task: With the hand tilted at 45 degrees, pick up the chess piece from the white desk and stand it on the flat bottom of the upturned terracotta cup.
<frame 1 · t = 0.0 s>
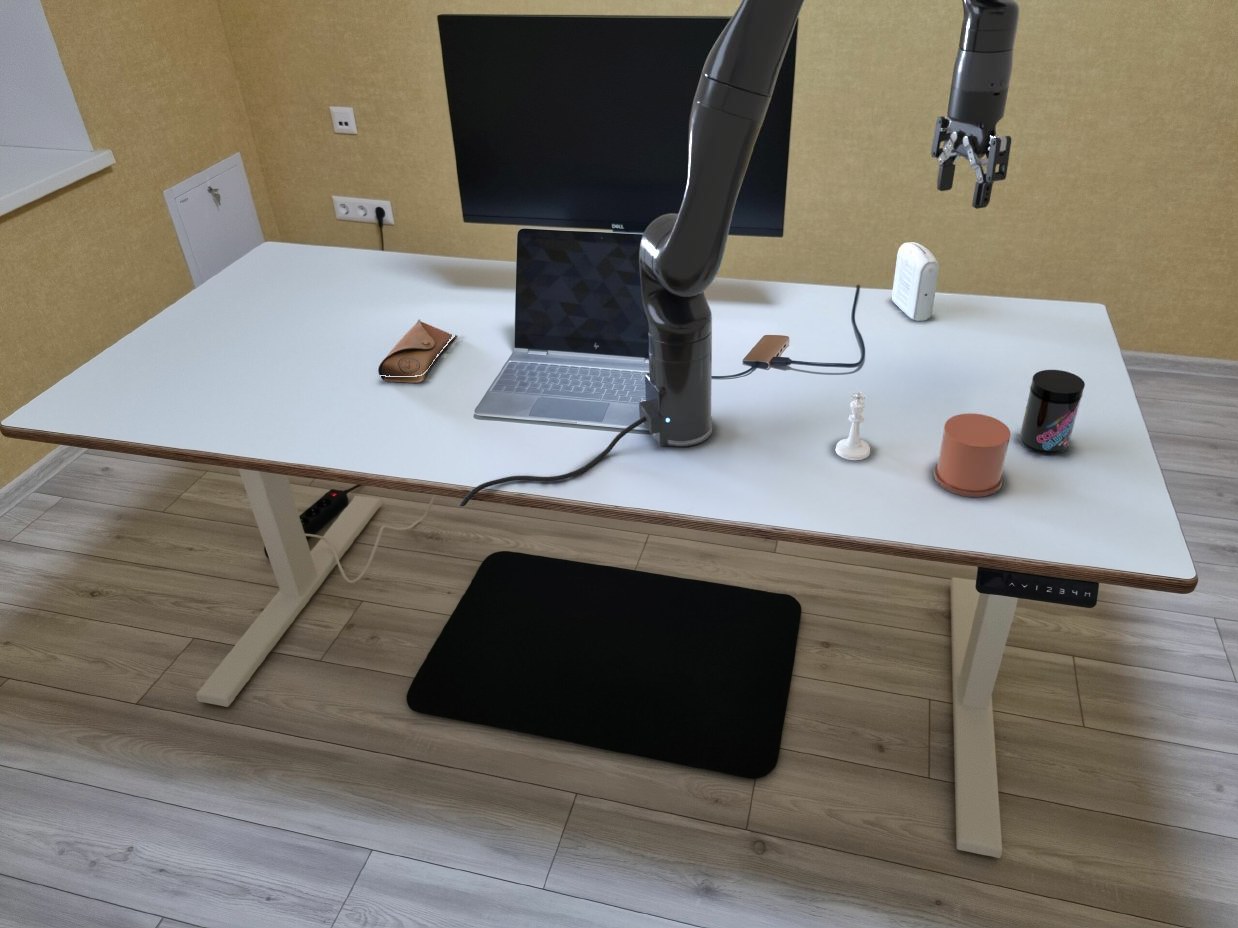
hand: (961, 198, 137), 29 cm above the table, tool pointing down, fingers open, 8 cm apart
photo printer: (910, 310, 173), on the table
supplement container: (1042, 444, 135), on the table
chess piece: (852, 452, 136), on the table
upturned cup: (967, 477, 129), on the table
sunglasses case: (421, 359, 167), on the table
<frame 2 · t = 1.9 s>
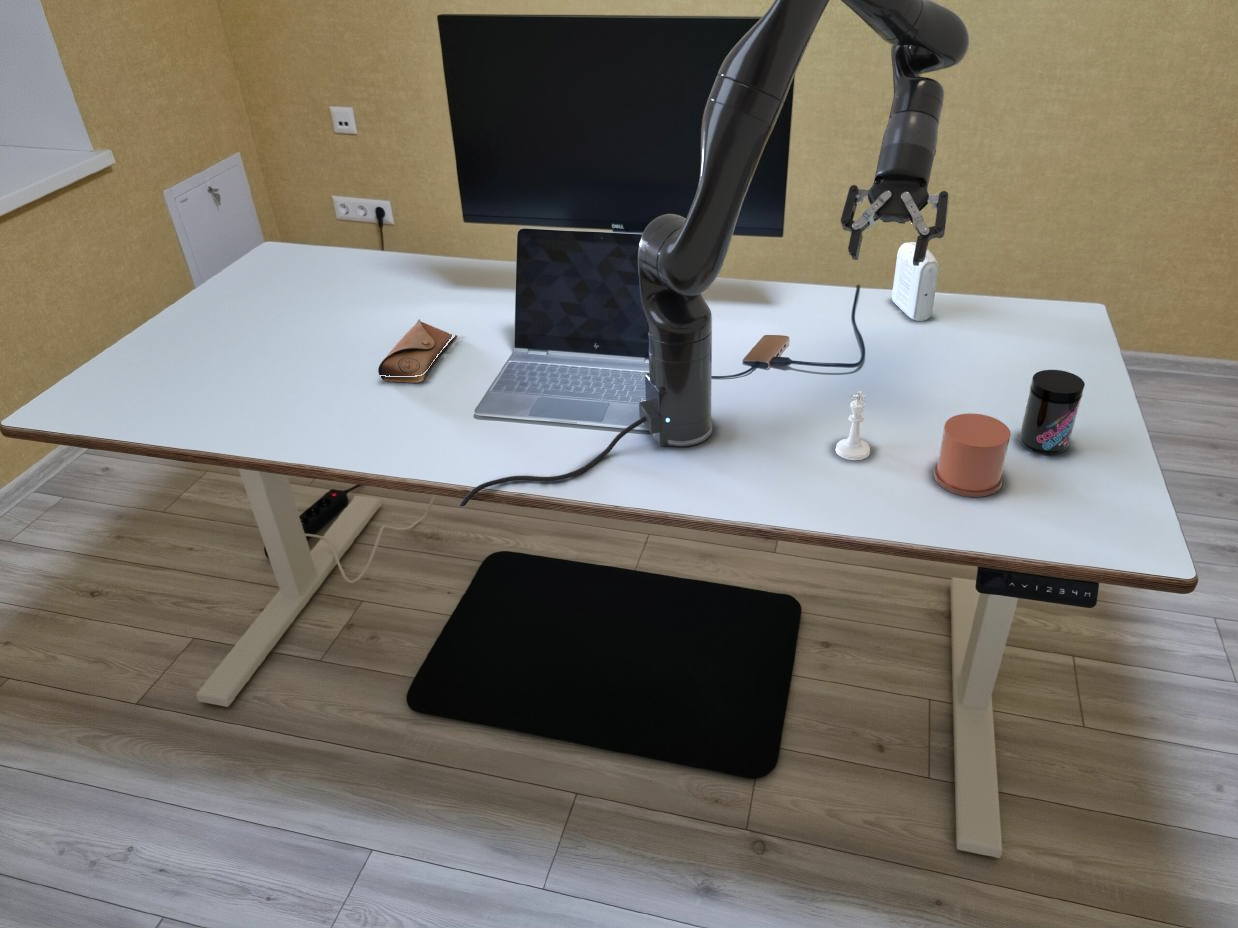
hand: (884, 261, 131), 25 cm above the table, tool tilted 40°, fingers open, 8 cm apart
nothing on the table moved.
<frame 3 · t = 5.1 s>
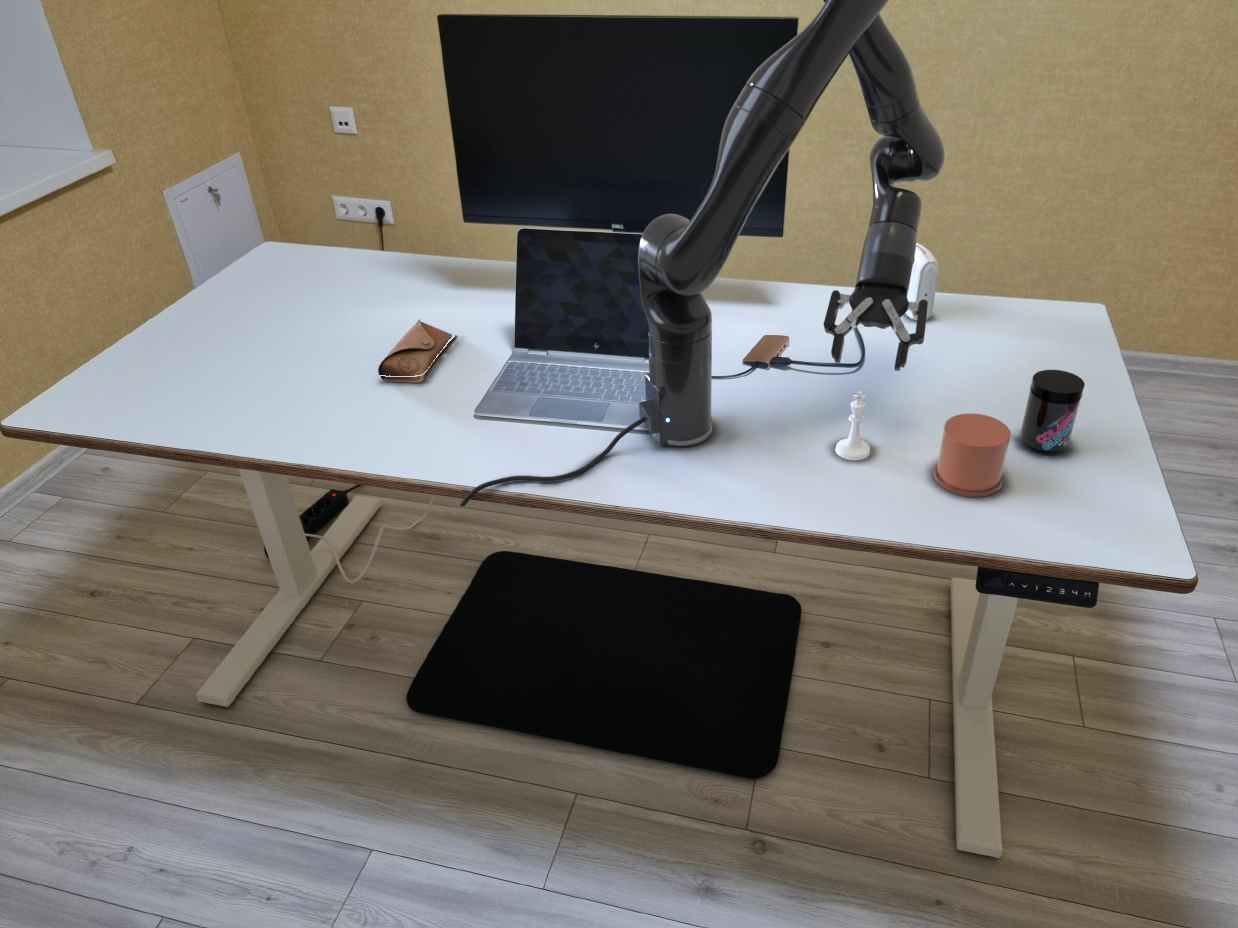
hand: (866, 365, 134), 11 cm above the table, tool tilted 45°, fingers open, 8 cm apart
nothing on the table moved.
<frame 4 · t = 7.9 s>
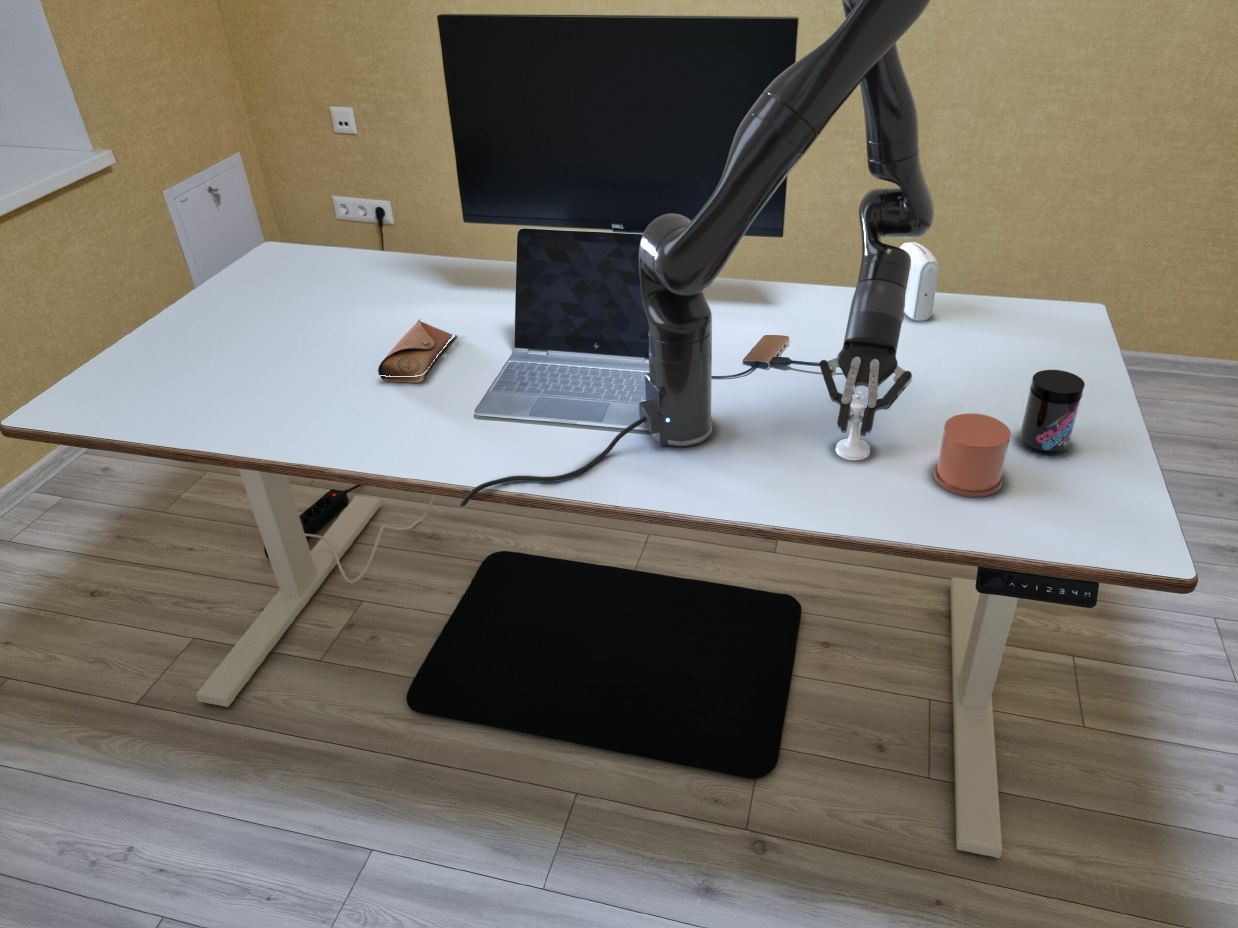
hand: (853, 433, 132), 4 cm above the table, tool tilted 45°, fingers closed on chess piece
chess piece: (852, 452, 136), on the table, touching gripper
everything else where it was.
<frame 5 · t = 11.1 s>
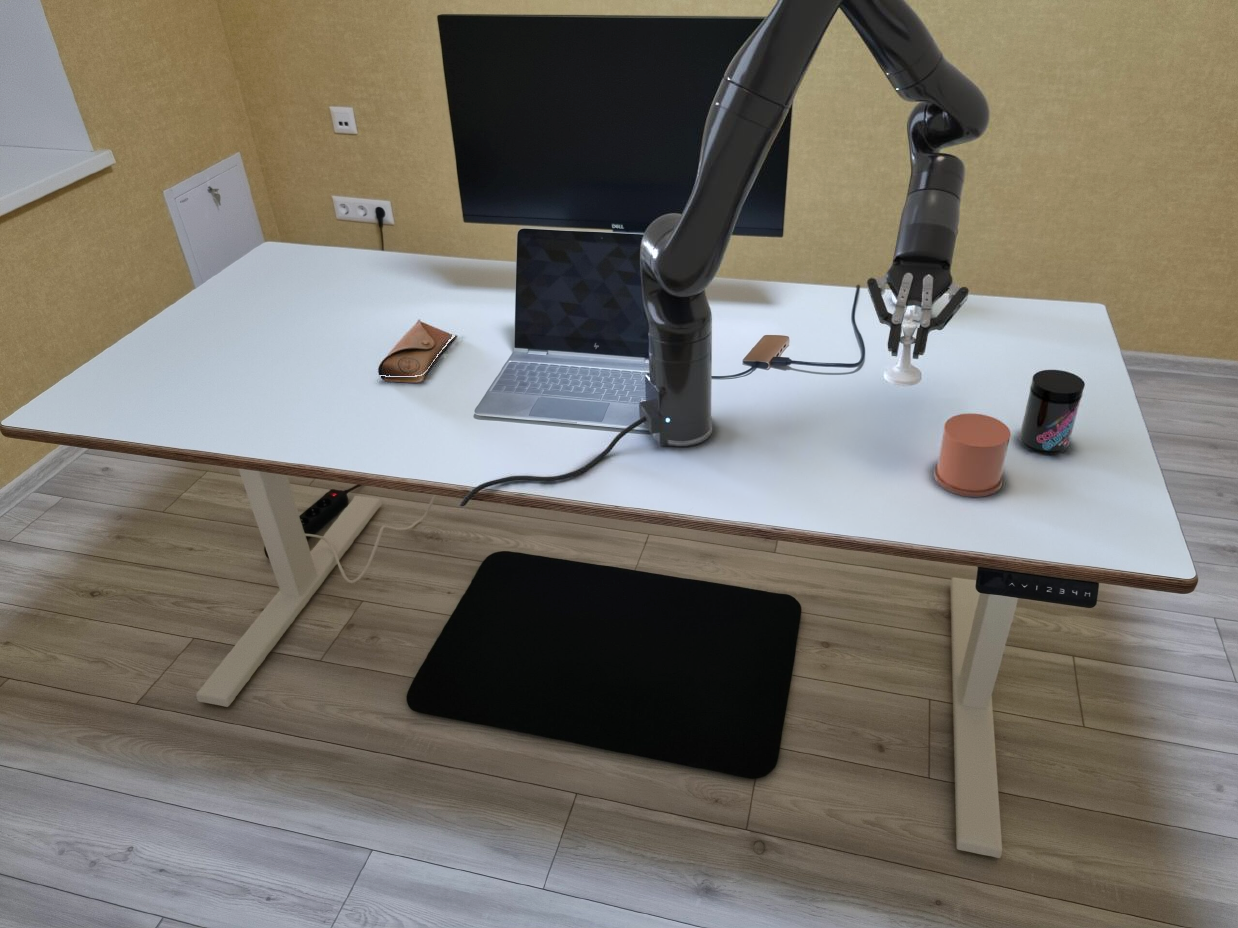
hand: (905, 355, 122), 18 cm above the table, tool tilted 45°, fingers closed on chess piece
chess piece: (902, 378, 126), point 13 cm above the table, touching gripper
everything else where it was.
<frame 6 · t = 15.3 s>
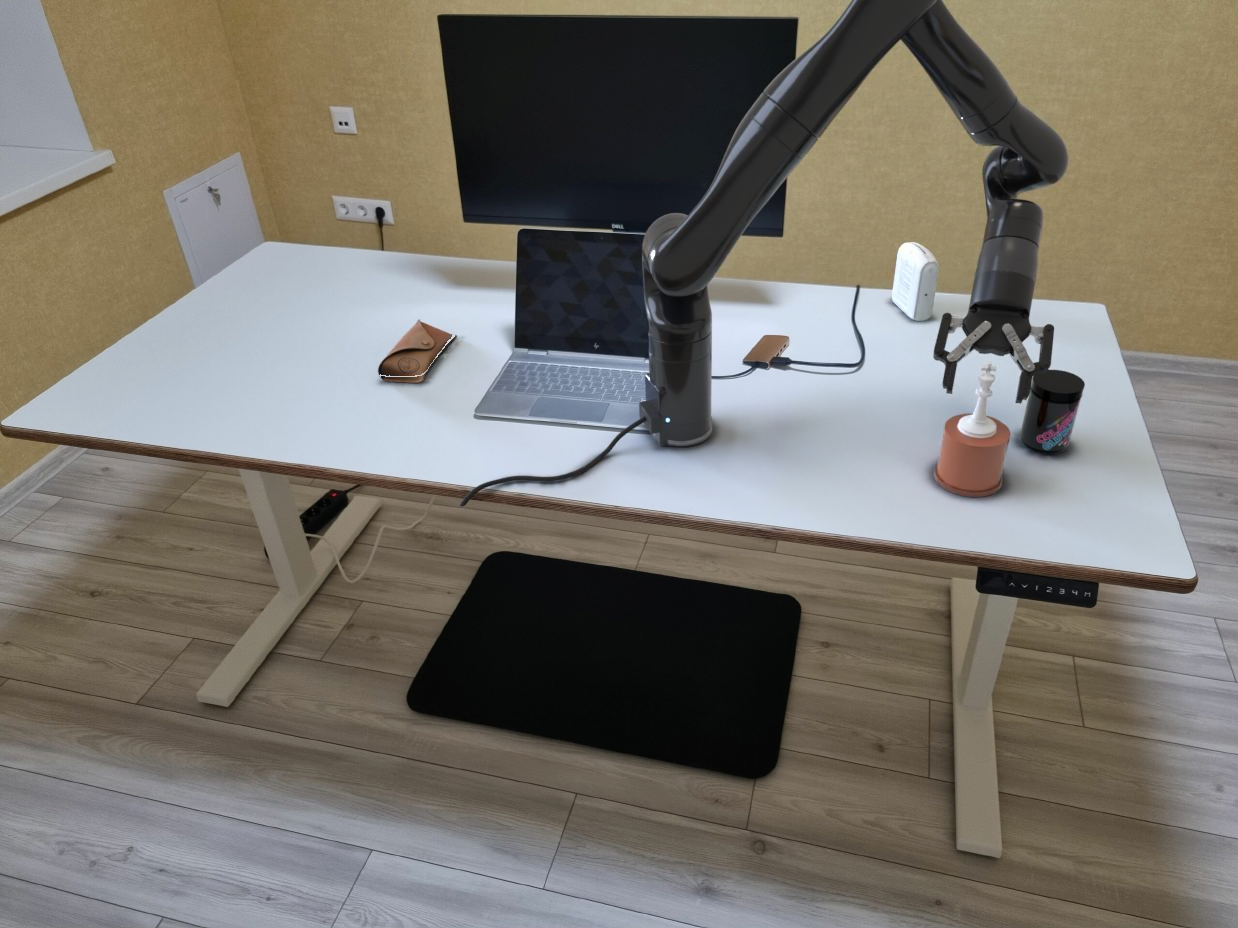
hand: (983, 397, 120), 14 cm above the table, tool tilted 45°, fingers open, 8 cm apart
chess piece: (976, 429, 124), point 8 cm above the table, touching upturned cup
everything else where it was.
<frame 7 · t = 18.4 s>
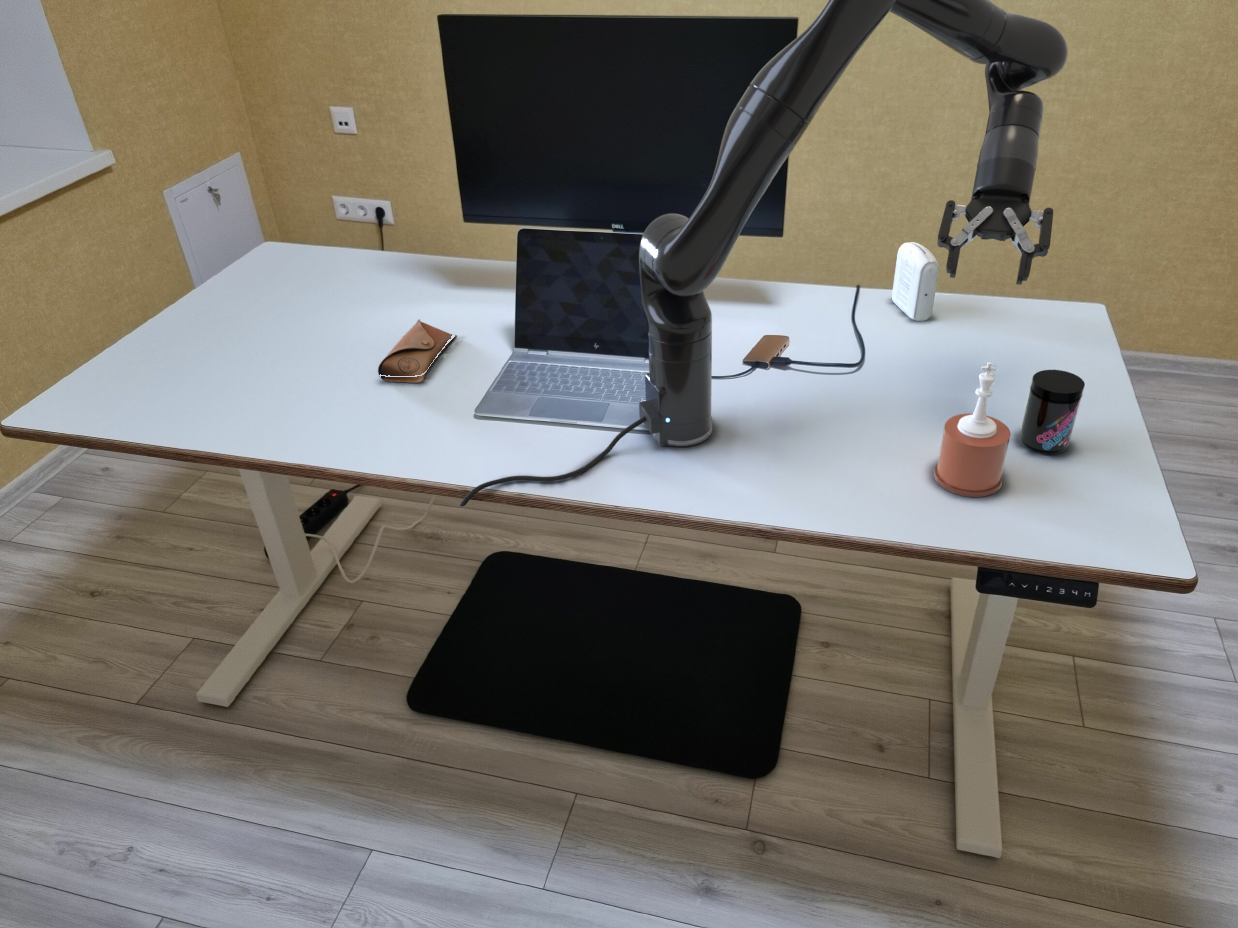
hand: (985, 279, 125), 24 cm above the table, tool tilted 45°, fingers open, 8 cm apart
nothing on the table moved.
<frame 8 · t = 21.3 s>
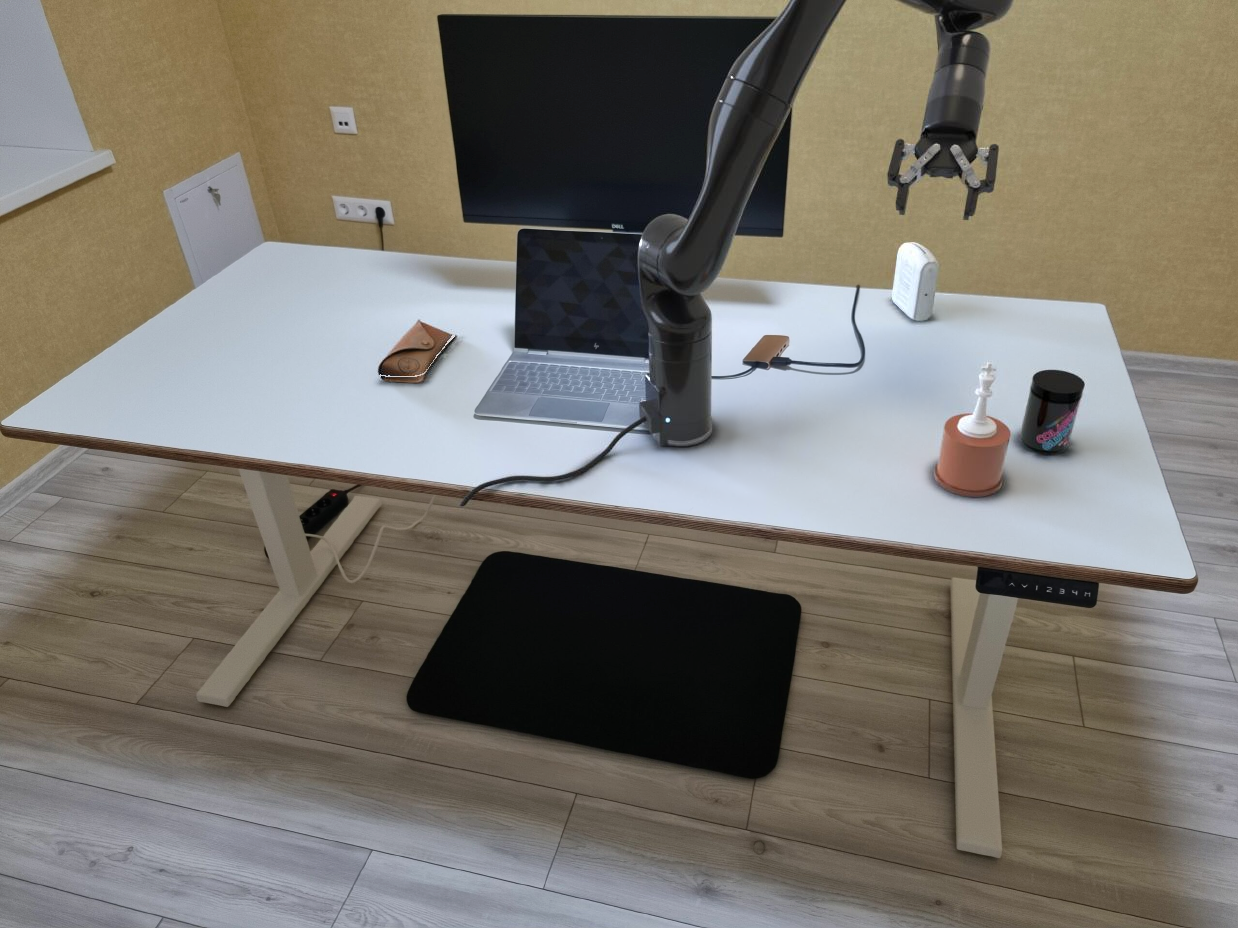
hand: (933, 215, 128), 31 cm above the table, tool tilted 45°, fingers open, 8 cm apart
nothing on the table moved.
at the end: chess piece 0.2 cm off-centre on the upturned cup, point 7.8 cm above the upturned cup's base; chess piece tilted 0°; the gripper is holding nothing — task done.
